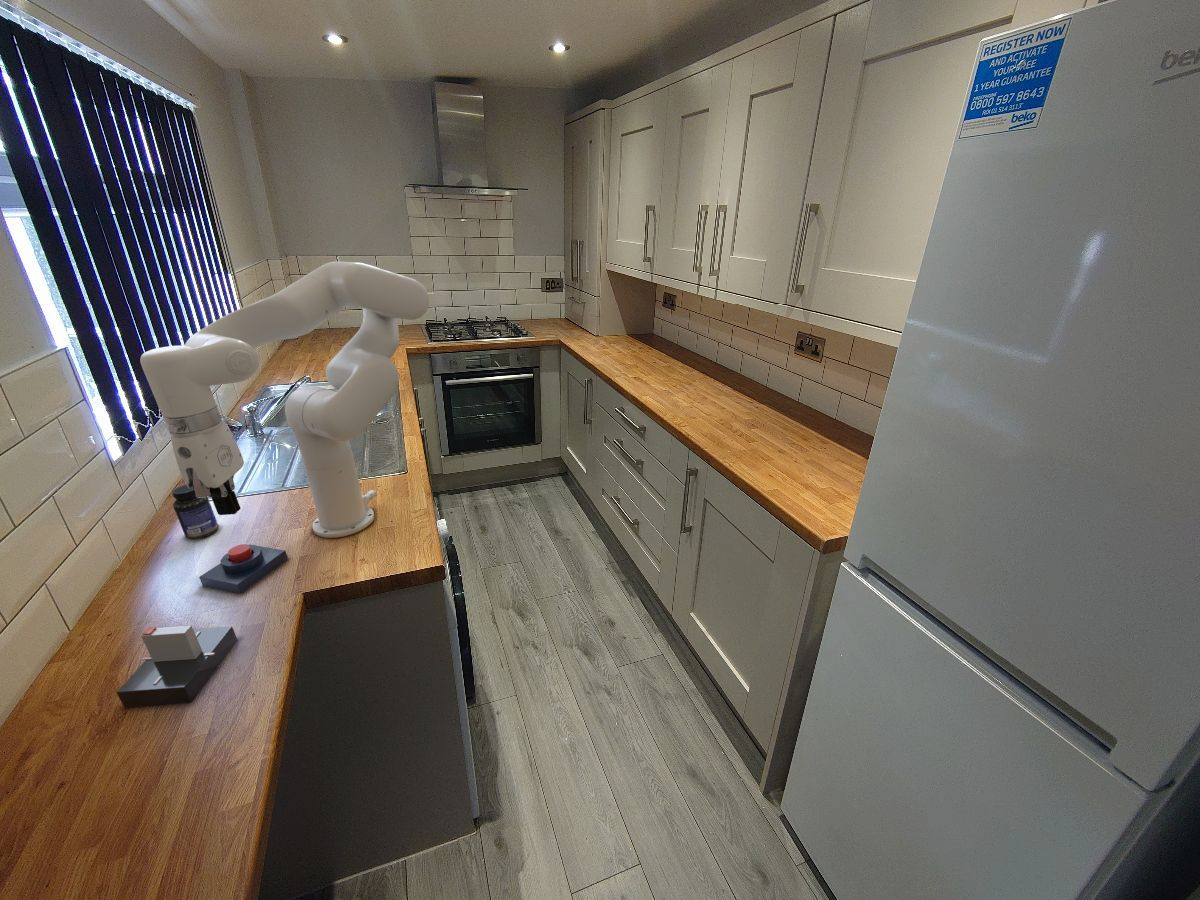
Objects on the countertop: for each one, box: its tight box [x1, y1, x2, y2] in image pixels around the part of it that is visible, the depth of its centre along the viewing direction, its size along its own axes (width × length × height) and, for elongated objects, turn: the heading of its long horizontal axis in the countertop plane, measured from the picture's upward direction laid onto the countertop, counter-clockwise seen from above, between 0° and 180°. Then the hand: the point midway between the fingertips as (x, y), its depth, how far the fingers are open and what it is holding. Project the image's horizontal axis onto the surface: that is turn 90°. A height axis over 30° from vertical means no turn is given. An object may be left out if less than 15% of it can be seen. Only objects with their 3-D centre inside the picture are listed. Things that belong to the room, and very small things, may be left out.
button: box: [227, 543, 252, 562], centre depth 100 cm, size 4×4×2 cm
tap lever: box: [140, 625, 202, 662], centre depth 77 cm, size 6×2×5 cm, turn 95°
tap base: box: [116, 625, 238, 709], centre depth 79 cm, size 12×10×3 cm
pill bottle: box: [171, 484, 220, 540], centre depth 113 cm, size 6×6×11 cm
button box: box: [198, 543, 289, 595], centre depth 101 cm, size 11×9×4 cm
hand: (229, 512), depth 97 cm, fingers closed
